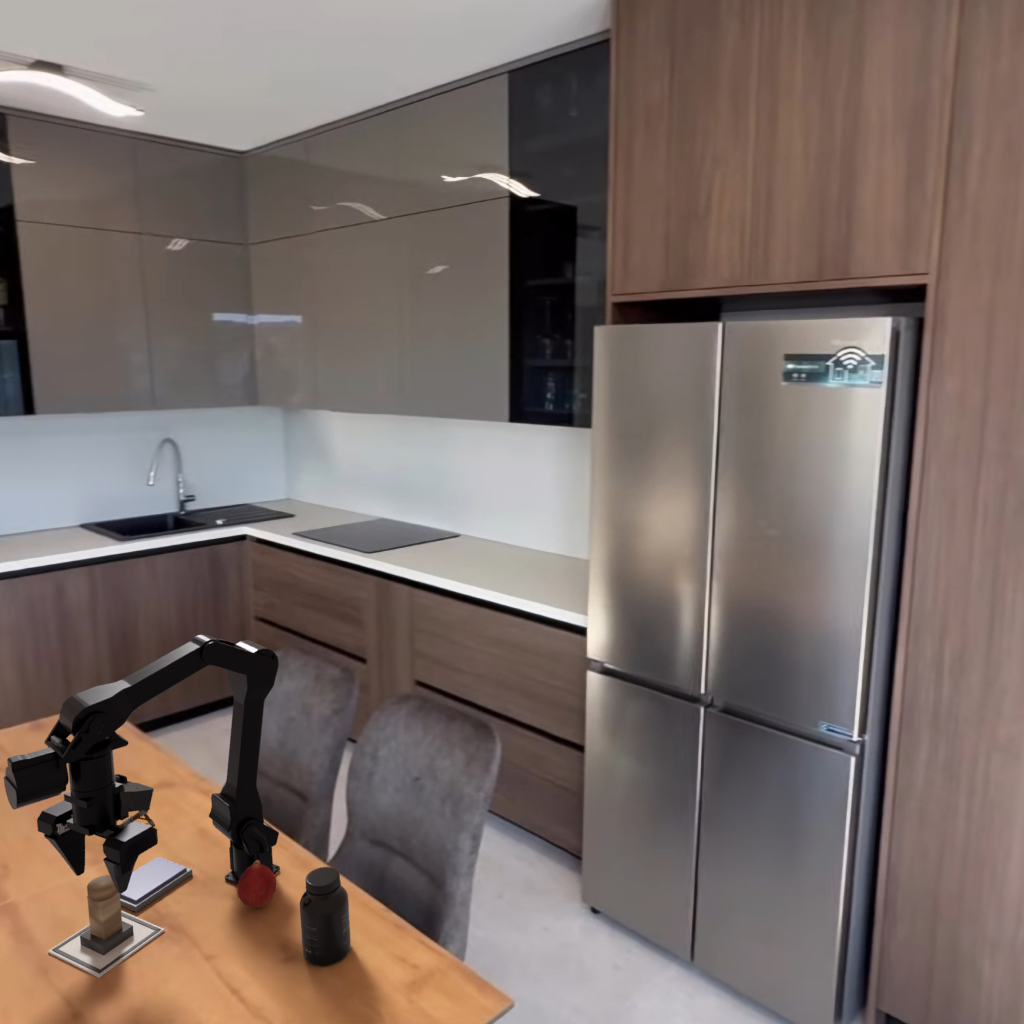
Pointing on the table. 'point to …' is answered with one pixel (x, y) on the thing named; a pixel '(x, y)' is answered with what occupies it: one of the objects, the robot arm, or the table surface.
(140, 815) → the wooden post with brackets
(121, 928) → the stamp
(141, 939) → the marked card
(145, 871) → the ink pad
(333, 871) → the supplement bottle
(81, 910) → the table surface
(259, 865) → the onion
